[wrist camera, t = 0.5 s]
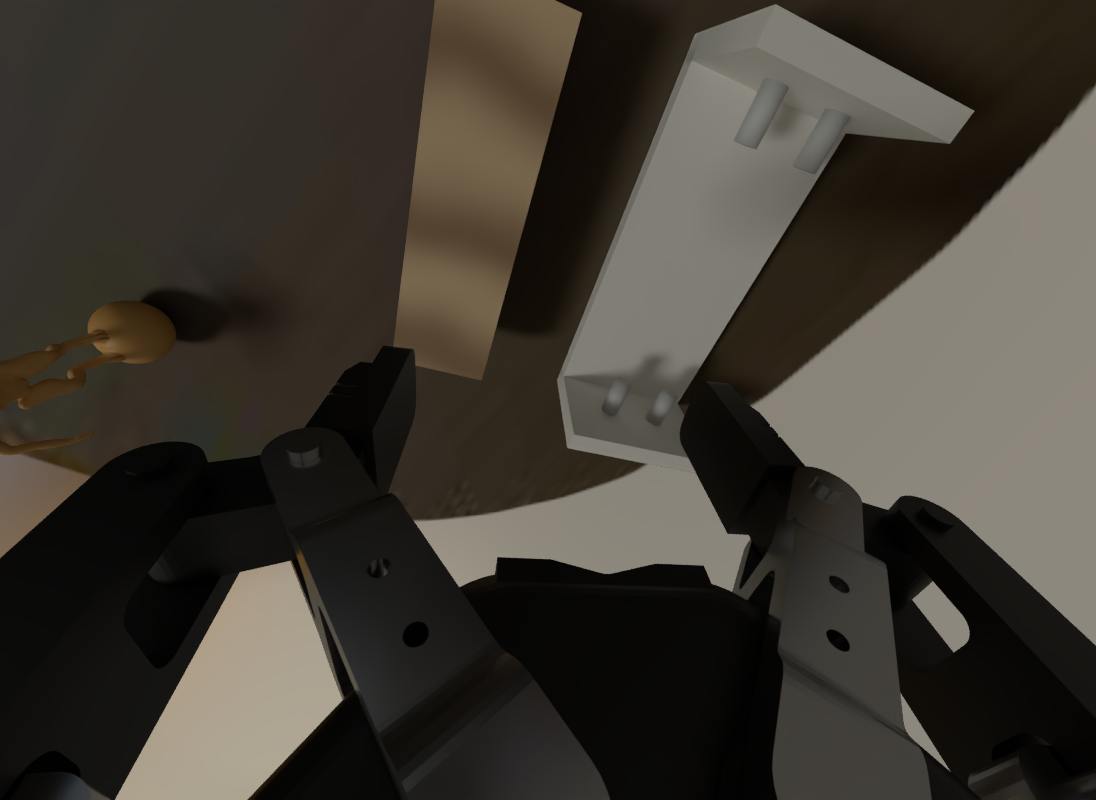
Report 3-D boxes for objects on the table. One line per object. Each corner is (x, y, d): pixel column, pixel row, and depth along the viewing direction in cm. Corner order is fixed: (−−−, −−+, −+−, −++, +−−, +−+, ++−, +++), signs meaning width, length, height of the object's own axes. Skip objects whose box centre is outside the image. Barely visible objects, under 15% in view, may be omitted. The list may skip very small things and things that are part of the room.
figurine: (217, 368, 30) (78, 494, 21) (134, 374, 30) (-46, 502, 21) (148, 255, 25) (-76, 351, 16) (48, 260, 25) (-241, 360, 16)
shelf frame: (695, 33, 21) (775, 4, 14) (847, 107, 23) (974, 110, 17) (557, 380, 33) (567, 447, 26) (666, 405, 35) (700, 474, 29)
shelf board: (449, -35, 17) (441, -53, 15) (574, 22, 18) (582, 12, 16) (400, 340, 27) (391, 359, 25) (484, 360, 28) (481, 380, 26)
